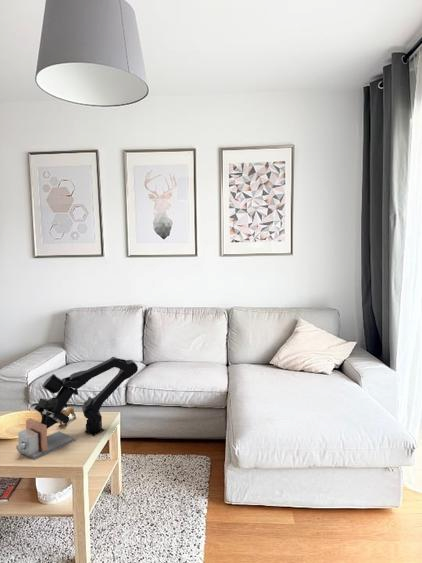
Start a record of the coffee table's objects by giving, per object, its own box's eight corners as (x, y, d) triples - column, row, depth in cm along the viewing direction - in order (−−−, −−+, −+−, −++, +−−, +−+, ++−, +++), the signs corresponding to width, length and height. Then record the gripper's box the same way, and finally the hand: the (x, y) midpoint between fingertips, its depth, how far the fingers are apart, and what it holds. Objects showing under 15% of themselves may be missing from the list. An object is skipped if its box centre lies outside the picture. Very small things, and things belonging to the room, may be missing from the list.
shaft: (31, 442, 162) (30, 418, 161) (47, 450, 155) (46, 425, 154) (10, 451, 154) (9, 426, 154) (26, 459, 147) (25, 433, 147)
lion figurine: (66, 429, 177) (65, 411, 176) (55, 429, 177) (54, 411, 176) (77, 416, 191) (77, 399, 191) (67, 416, 191) (66, 399, 191)
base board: (59, 433, 173) (58, 431, 172) (75, 440, 166) (74, 438, 166) (18, 451, 157) (18, 448, 157) (34, 459, 150) (34, 456, 150)
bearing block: (28, 446, 158) (27, 428, 158) (38, 451, 154) (38, 433, 153) (18, 450, 155) (18, 432, 155) (29, 456, 150) (28, 437, 150)
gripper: (37, 386, 167) (13, 419, 158) (62, 394, 156) (38, 430, 148) (54, 398, 174) (32, 430, 165) (79, 407, 163) (56, 441, 155)
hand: (39, 432), depth 158 cm, fingers closed, pressing on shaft
